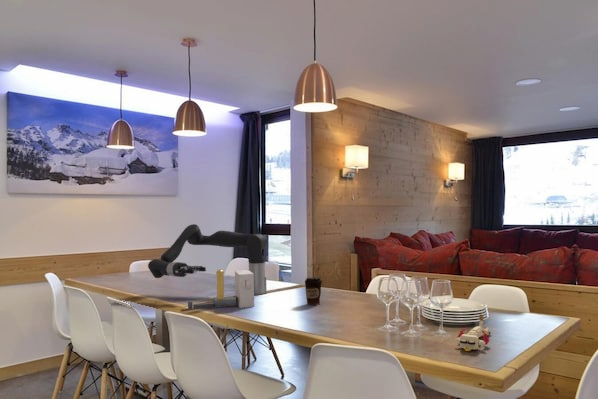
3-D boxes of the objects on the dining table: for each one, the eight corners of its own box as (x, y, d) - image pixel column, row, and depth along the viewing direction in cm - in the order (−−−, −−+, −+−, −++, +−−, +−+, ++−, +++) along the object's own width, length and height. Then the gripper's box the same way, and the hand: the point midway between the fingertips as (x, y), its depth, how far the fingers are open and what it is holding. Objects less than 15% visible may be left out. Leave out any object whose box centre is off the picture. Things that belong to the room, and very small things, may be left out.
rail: (242, 303, 233) (241, 296, 233) (243, 305, 229) (243, 298, 230) (187, 308, 226) (187, 300, 226) (188, 310, 222) (188, 302, 222)
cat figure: (468, 336, 172) (450, 348, 151) (468, 312, 173) (450, 321, 152) (497, 340, 167) (482, 353, 146) (496, 315, 168) (482, 325, 147)
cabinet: (249, 301, 239) (248, 270, 240) (254, 307, 225) (253, 273, 226) (234, 302, 237) (233, 271, 237) (239, 308, 223) (238, 274, 223)
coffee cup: (320, 306, 223) (320, 279, 224) (303, 306, 225) (303, 279, 225) (323, 302, 232) (322, 276, 232) (307, 302, 233) (306, 276, 234)
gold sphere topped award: (233, 303, 234) (233, 267, 234) (235, 305, 227) (235, 269, 227) (213, 304, 231) (212, 269, 231) (215, 307, 224) (214, 270, 224)
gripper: (187, 274, 252) (209, 275, 243) (167, 278, 240) (189, 279, 231) (187, 260, 252) (208, 261, 243) (166, 264, 240) (188, 264, 232)
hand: (199, 270), depth 237 cm, fingers open, 8 cm apart
